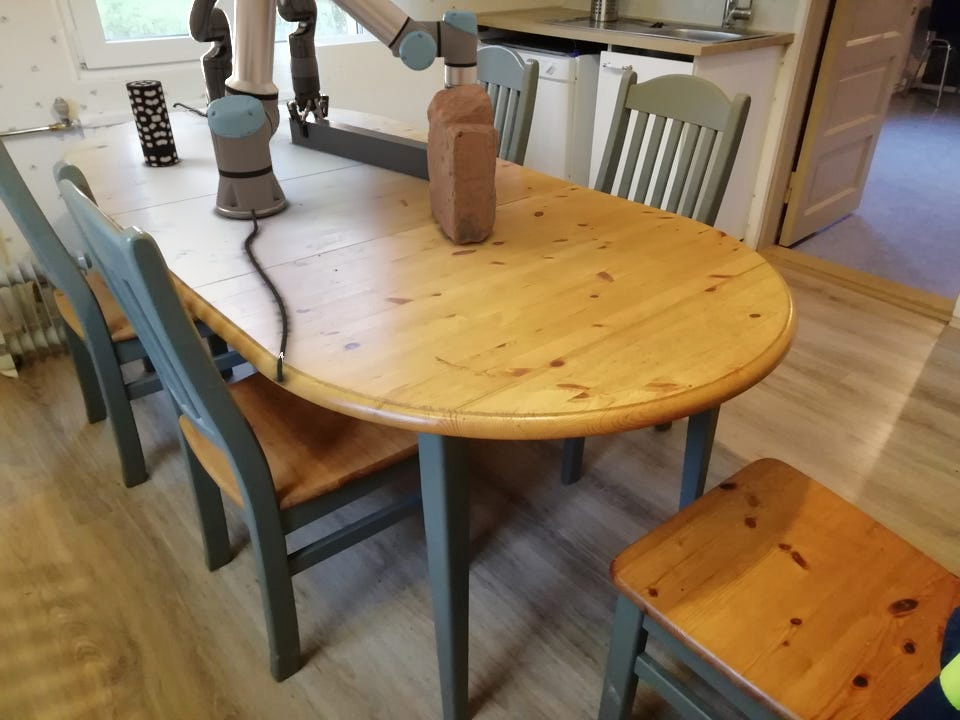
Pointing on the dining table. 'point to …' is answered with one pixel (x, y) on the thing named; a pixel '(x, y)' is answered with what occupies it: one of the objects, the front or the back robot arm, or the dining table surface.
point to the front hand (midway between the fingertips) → (461, 181)
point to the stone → (462, 162)
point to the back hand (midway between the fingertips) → (312, 135)
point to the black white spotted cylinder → (152, 122)
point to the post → (364, 145)
